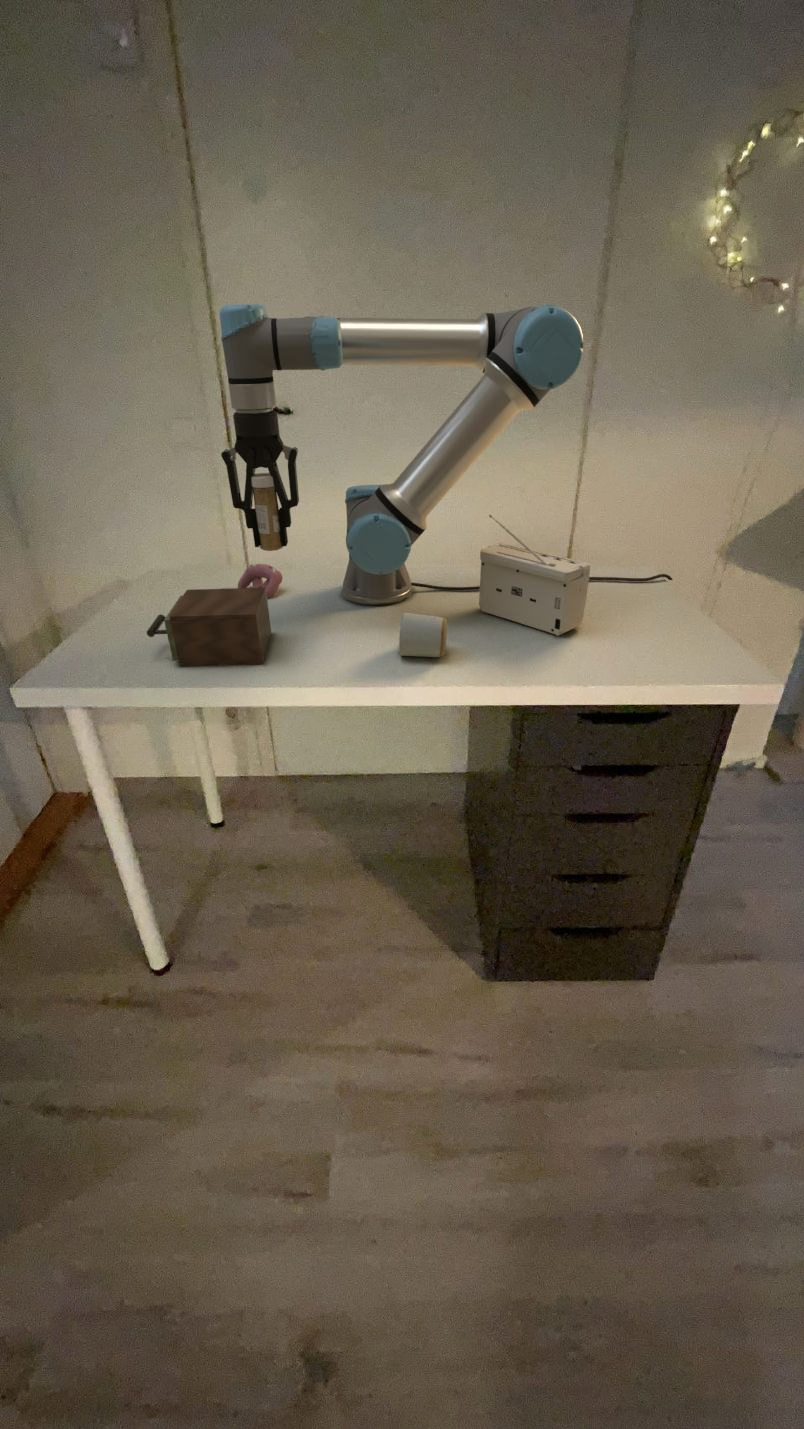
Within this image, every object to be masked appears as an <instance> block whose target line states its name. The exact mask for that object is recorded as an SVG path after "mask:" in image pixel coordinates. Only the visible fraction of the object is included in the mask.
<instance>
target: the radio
mask: <svg viewBox="0 0 804 1429" xmlns="http://www.w3.org/2000/svg"><path fill="white" fill-rule="evenodd" d="M488 517H489V518H490V519H493V520H494V521H495V522H496V523H497V524H498V525H499V526H500V527H501V528H502V529H504V530H505V532H506V533H508V534H509V535H510V536H511V537H512V538H513V539H514V540H515V541H516V542H518V543H519V544H520V545H521V546H522V547H521V546H517V545H513V544H508V543H504V542H498V543H496V544H493V545H488V546H486V547H484V548H482V549H481V550H480V555H479V556H480V557H479V558H480V577H479V586H480V589H479V592H478V593H479V595H478V606H479V608H480V611H481V612H483V613H484V614H485V613H487V614H490V615H493V616H496V617H500V618H502V619H506V620H509V621H513V622H515V623H518V624H522V625H525V626H527V627H531V628H534V629H537V630H541V631H543V632H546V633H549V634H553V635H555V636H557V637H559V636H561V635H563V634H565V633H567V632H569V631H571V630H573V629H575V628H577V627H578V626H579V625H581V624H582V623H583V620H584V615H585V609H586V604H587V596H588V589H589V582H590V580H589V577H590V574H591V564H590V563H588V562H585V561H580V560H576V559H572V558H568V557H564V556H560V555H555V554H551V553H546V552H543V551H538V550H535V549H534V550H533V549H531V548H530V547H529V546H528V545H527V544H525V543H524V542H523V541H522V540H521V539H519V538H518V537H517V536H516V535H515V534H513V533H512V532H511V531H510V530H509V529H508V528H507V527H505V525H503V524H502V523H500V522H499V521H498V520H497V519H495V518H494V517H493V515H492V514H489V515H488Z"/></svg>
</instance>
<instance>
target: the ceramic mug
mask: <svg viewBox="0 0 804 1429" xmlns="http://www.w3.org/2000/svg"><path fill="white" fill-rule="evenodd" d="M399 627H400V628H399V638H398V640H399V641H398V642H399V643H398V651H399V655H400V656H402V657H403V656H404V657H422V658H423V657H424V658H440V657H443V656H444V655H445V653H446V646H447V638H448V637H447V636H448V620H447V619H446V618H444V617H441V616H437V615H428V614H427V615H426V614H419V613H411V612H403V614H402V616H401V620H400V626H399Z"/></svg>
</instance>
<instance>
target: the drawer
mask: <svg viewBox="0 0 804 1429" xmlns="http://www.w3.org/2000/svg"><path fill="white" fill-rule="evenodd" d="M182 596H183V595H180V596H178V599H177V601H176V602H175V603H174V604H173V606H172V607H171V609H170V610H169V612H168V613H167V615H166V616H165V615H164V614H158V615H157V616H156V617H155V619H154V620H153V622H152V624H151V625H150V626H149V627H148V629H147V630H146V636H148V637H150V638H154V637H155V636H156V635H166V636H167V640H168V644H169V649H170V653H171V658H172V661H179V660H178V655H177V651H176V646H175V641H174V637H173V632H172V627H171V623H170V618H169V616H170V614H171V613H172V611H173V610H174V608H175V607H176V605H177V604H178V602H179V601H180V599H181V598H182ZM163 624H164V627H165V629H160V628H161V627H162V625H163Z"/></svg>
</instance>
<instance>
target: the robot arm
mask: <svg viewBox="0 0 804 1429" xmlns="http://www.w3.org/2000/svg"><path fill="white" fill-rule="evenodd" d="M219 319H220V320H219V322H220V331H221V337H220V338H221V340H220V341H221V344H222V349H223V355H224V362H225V367H226V374H227V375H226V376H227V382H228V384H227V385H228V390H229V397H230V406H231V408H232V409H233V410H235V412H233V415H232V417H233V426H234V434H235V442H234V446H233V447H230V448H226V449H224V450H223V451H222V452H221V454H220V456H221V458H222V461H223V462H224V464H225V467H226V472H227V477H228V485H229V489H230V497H231V502H232V507H233V508H234V509H239V510H242V511H243V513H244V519H245V525H246V528H247V529H249V530H250V529H251V530H252V536H253V541H254V543H253V544H254V548H260V538H259V532H258V527H257V520H256V513H255V508H253V505H254V504H253V501H254V495H253V489H252V488H253V487H252V480H251V478H252V477H253V476H254V474H256V469H259V468H264V469H267V471H268V473H270V475H271V476H272V477H273V483H274V486H275V489H276V493H277V499H278V501H279V503H280V507H279V511H278V513H279V522H280V530H281V539H282V546H283V547H287V546H288V542H289V538H288V530H287V528H290V527H291V525H292V516H291V509H292V508H294V507H297V506H298V505H299V503H300V496H299V484H298V472H297V459H298V458H297V457H298V454H299V449H298V448H297V447H295V446H293V447H291V446H288V445H285V444H284V442H283V440H282V438H281V435H280V426H279V418H278V412H277V410H274V409H275V408H276V406H277V398H276V392H275V391H276V390H275V383H274V374H273V373H274V371H314V370H317V371H319V370H320V371H322V372H323V371H326V370H334V369H339V368H341V367H342V366H395V367H396V366H397V367H398V366H399V367H402V366H403V367H405V366H406V367H407V366H409V367H471V368H472V367H473V368H475V369H476V371H477V372H478V373H483V376H482V377H481V378H480V379H479V380H478V382H477V383H476V384H475V385H474V386H473V387H472V389H471V390H470V391H469V392H468V393H467V394H466V396H465V397H464V398H463V400H461V402H460V403H459V404H458V405H457V406H456V408H455V409H454V410H453V411H452V412H451V414H450V415H449V416H448V417H447V418H446V420H445V421H444V422H443V423H442V424H441V426H440V427H439V428H438V429H437V431H435V433H434V434H433V435H432V436H431V437H430V439H429V440H428V441H427V442H426V443H425V444H424V446H423V447H422V448H421V449H420V450H419V452H418V453H417V454H416V456H414V457H413V459H411V461H410V462H409V464H408V465H407V466H406V467H405V468H404V470H403V471H402V472H401V473H400V475H398V476H397V478H396V479H395V481H393V483H387V484H386V483H385V484H360V485H352V486H350V487H348V488H347V489H346V491H345V499H344V503H345V508H346V511H345V512H346V534H345V535H346V536H345V545H346V549H347V552H348V563H347V566H346V571H345V574H344V578H343V582H342V596H343V597H344V598H345V599H346V600H347V601H349V602H352V603H355V604H359V605H365V606H383V605H392V604H395V603H400V602H402V601H404V600H406V599H408V598H409V597H410V596H411V595H412V590H413V588H412V587H417V588H424V589H425V588H426V589H431V590H439V591H440V590H442V591H475V590H480V585H476V586H439V585H433V584H427V583H419V582H412V581H411V578H410V575H409V572H408V569H407V566H406V564H405V563H406V561H407V560H408V558H409V557H410V556H409V555H410V553H411V550H412V549H411V548H412V546H413V545H414V544H415V542H416V541H417V540H418V539H419V538H420V537H421V535H422V534H423V533H425V531H426V530H427V528H428V524H427V523H428V522H427V520H428V519H427V518H428V515H429V514H431V512H432V511H433V510H434V509H435V507H436V506H438V504H439V503H440V502H441V501H442V500H443V498H445V496H446V495H447V494H448V493H449V491H450V490H451V489H452V488H453V487H454V486H455V485H456V484H457V483H458V481H459V480H460V479H461V478H462V477H463V476H464V475H465V474H466V473H467V472H468V470H469V469H470V468H471V466H473V464H474V463H475V462H476V461H477V460H478V458H479V457H480V456H482V454H483V453H484V452H485V451H486V450H487V448H488V447H489V446H490V445H491V444H492V443H493V442H494V440H495V439H496V438H497V437H498V436H499V435H500V434H501V433H502V432H503V430H504V429H505V428H506V427H507V426H508V425H509V424H510V422H511V421H512V420H513V419H514V418H515V417H516V416H517V414H518V413H519V412H521V411H531V410H534V409H535V407H536V406H537V405H538V404H539V403H540V402H541V401H542V400H543V399H544V397H546V395H547V394H549V392H550V391H551V390H554V389H556V388H559V387H560V386H562V385H563V384H565V383H567V381H568V380H570V379H571V378H572V377H573V376H574V374H575V373H576V371H577V370H578V368H579V365H580V364H581V360H582V357H583V353H584V335H583V332H582V328H581V325H580V323H579V322H578V320H577V319H576V317H575V316H574V315H572V313H570V312H569V311H568V310H566V309H564V308H562V307H561V306H557V305H555V304H542V305H539V306H528V307H523V308H520V309H519V308H518V309H515V310H514V309H513V310H510V311H509V310H508V311H503V312H501V311H500V312H483V313H481V314H480V316H479V317H478V318H476V319H475V318H474V319H473V318H471V319H470V318H398V317H397V318H395V317H394V318H393V317H391V318H390V317H331V316H303V317H286V318H283V317H282V318H276V317H274V318H273V317H269V316H268V314H267V311H266V306H264V305H263V304H258V303H257V304H225V305H223V306H222V307H221V308H220V309H219ZM282 453H284V458H285V459H286V460H287V470H288V471H287V473H288V484H289V494H290V499H289V497H288V494H287V492H286V488H285V486H284V482H283V479H282V476H281V473H280V471H279V466H278V463H277V461H278V459H279V457H280V455H281V454H282ZM237 454H238V456H239V457H240V458H241V459H242V460H243V461H244V463H245V464H246V466H245V482H244V484H245V486H244V496H243V499H242V495H241V488H240V480H239V475H238V468H237V463H236V460H237V458H238V457H237ZM660 578H666V579H667V580H668V581H673V578H672V577H671V576H670V575H669V574H666V573H659V574H656V575H652V576H649V577H618V576H616V577H615V576H589V581H619V582H649V581H653V580H656V579H660Z"/></svg>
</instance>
